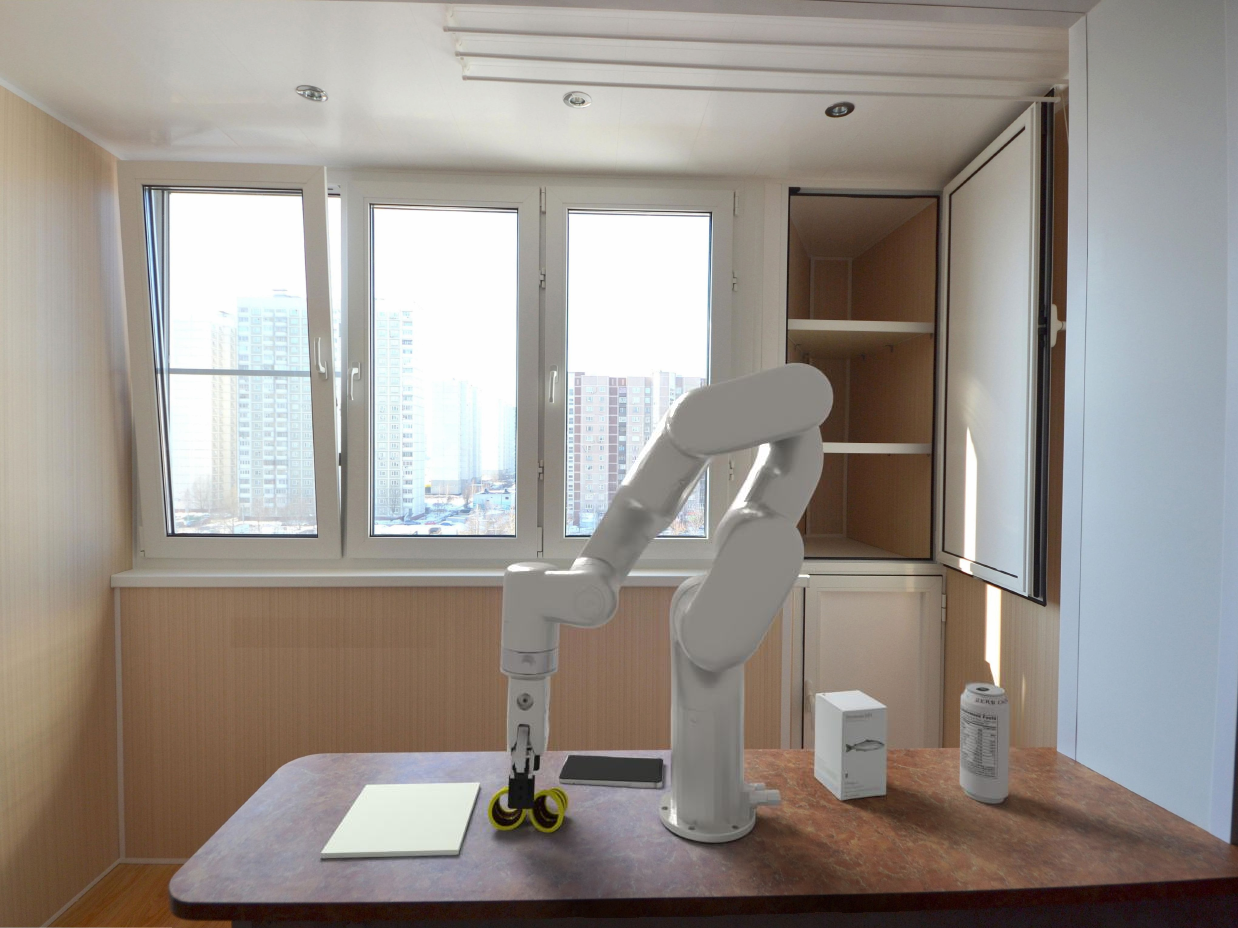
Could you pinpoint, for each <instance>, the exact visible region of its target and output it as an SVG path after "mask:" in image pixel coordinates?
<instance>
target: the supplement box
mask: <svg viewBox="0 0 1238 928" xmlns="http://www.w3.org/2000/svg"><path fill="white" fill-rule="evenodd" d="M814 697H815V702H814V703H815V704H814V705H815V706H814V707H815V709H814V711H815V713H814V715H815V716H814V718H815V719H814V769H813V770H814V772H813V773H814V774H813V775H814V777H815V779H816V780H817V781H819V783H820V784H822V785H823V786H824V787H825V788H826V789H827V790H828V791H829V792H830V793H832V795H834V796H835V797H836V798H837V799H838V800H840V801H845V800H850V799H859V798H867V797H875V796H886V794H887V760H888V759H887V757H888V756H887V755H888V754H887V753H888V752H887V751H888V749H887V748H888V746H887V743H888V706H886V705H884V704H883V703H881V702H879V701H878V700H876V699H874V698H873V697H871V696H869V695H867V694H866V693H864V692H862V691H861V690H858V689H857V690H856V689H855V690H845V691H834V692H831V691H830V692H820V693H818V692H817V693H815V695H814Z"/></svg>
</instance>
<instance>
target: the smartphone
mask: <svg viewBox="0 0 1238 928" xmlns="http://www.w3.org/2000/svg"><path fill="white" fill-rule="evenodd" d="M663 776H664V759H663V758H661V757H639V756H638V757H637V756H635V757H634V756H610V755H609V756H608V755H607V756H606V755H579V754H569V755H566V758H565V761H564V763H563V765H562V769H561V770H560V773H559V776H558V783H561V784H570V785H571V784H572V785H573V783H575V784H576V785H590V784H591V785H595V786H614V787H628V788H629V787H630V788H640V789H641V788H642V789H647V788H649V789H650V788H652V789H653V788H654V789H660V788H662V787H663ZM578 783H579V784H578Z"/></svg>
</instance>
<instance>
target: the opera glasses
mask: <svg viewBox="0 0 1238 928" xmlns="http://www.w3.org/2000/svg"><path fill="white" fill-rule="evenodd" d="M503 795H508V785H506V786H504V787H502V788H501V789H500V790H499V791H497V792H496V793H494V795H493V796H492V797H491V799H490V801H489V804H488V805H487V806H488V807H487V816H488V817H487V818H488V819H489V822H490V824H491V825H492V826H493V828H495V829H497V830H499V831H510V830H511V831H512V830H514V829H515V828H518V826H520V825H521V824H522V822H523V821H524V820H525V818H526V815H527V811H528V815H529V818H530V819H529V820H530V821H531V824H533V826H534V827H535V828H536V829H537V831H540V832H543V833H553V832H555V831H556V830H558V829H559V827H560V826H561V825H562V824H563V820H564V816H565V812H566V811H567V810H568V807H569V798H568V795H567V793H566V791H565V790H563V789H562V788H560V787H557V786H556V787H551V788H550V789H541V790H538V791H537V792H535V793H534V807H533V808H532V809H510V810H508V809H505V808H504V807H502V805H501V802H500V800H501V797H502V796H503ZM548 797H550V798H551V799H552V800H554V803H555V804H556V806H557V810H558V812H554V811H552V810H551V809H550V808H549V807H548V804H547V803H548V802H547V798H548Z"/></svg>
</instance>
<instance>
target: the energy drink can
mask: <svg viewBox="0 0 1238 928" xmlns="http://www.w3.org/2000/svg"><path fill="white" fill-rule="evenodd" d="M1005 693H1006V691H1005V689H1004V688H1002V687H1000V686H999V685H998V686H997V685H995V684H991V683H988V682H979V681H978V682H968V683H966V684H965V689H964V690H963V692H962V694H961V695H960V712H959V713H960V716H959V717H960V723H959V724H960V726H959V727H960V728H959V730H960V731H959V732H960V734H959V785H960V786H961V788H962V789H963V791H964V794H965V795H967V796H968V797H969V798H971V799H973V800H975V801H978V802H981V803H986V804H1001V803H1003V802H1004V801H1005V798H1006V797H1008V796H1009V794H1010V792H1009V791H1010V789H1009V787H1010V784H1009V783H1010V776H1009V775H1010V772H1009V771H1010V719H1011V718H1010V713H1011V712H1010V711H1011V708H1010V707H1011V705H1010V701H1009V700H1008V698H1007V697H1006V695H1005Z"/></svg>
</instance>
